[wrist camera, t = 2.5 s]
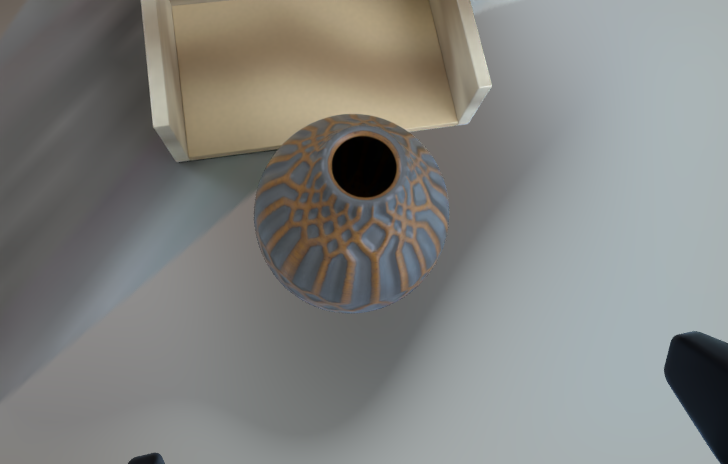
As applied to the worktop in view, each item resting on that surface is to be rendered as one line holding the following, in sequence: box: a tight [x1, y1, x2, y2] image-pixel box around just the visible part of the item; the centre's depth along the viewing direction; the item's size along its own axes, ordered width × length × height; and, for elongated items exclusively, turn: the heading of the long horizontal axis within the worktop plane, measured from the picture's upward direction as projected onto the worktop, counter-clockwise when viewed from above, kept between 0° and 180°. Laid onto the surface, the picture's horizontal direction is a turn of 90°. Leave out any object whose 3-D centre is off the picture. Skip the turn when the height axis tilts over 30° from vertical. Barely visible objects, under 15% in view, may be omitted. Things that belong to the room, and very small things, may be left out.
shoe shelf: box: [141, 0, 492, 162], centre depth 23 cm, size 8×13×5 cm, turn 100°
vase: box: [254, 114, 449, 313], centre depth 19 cm, size 7×7×9 cm
